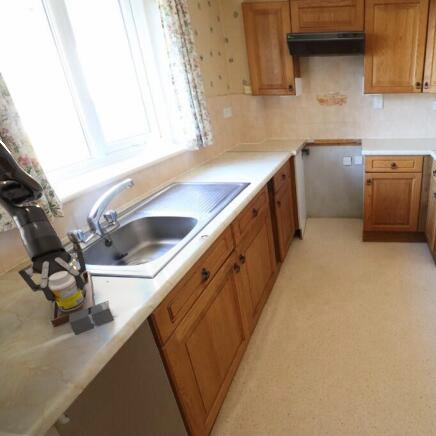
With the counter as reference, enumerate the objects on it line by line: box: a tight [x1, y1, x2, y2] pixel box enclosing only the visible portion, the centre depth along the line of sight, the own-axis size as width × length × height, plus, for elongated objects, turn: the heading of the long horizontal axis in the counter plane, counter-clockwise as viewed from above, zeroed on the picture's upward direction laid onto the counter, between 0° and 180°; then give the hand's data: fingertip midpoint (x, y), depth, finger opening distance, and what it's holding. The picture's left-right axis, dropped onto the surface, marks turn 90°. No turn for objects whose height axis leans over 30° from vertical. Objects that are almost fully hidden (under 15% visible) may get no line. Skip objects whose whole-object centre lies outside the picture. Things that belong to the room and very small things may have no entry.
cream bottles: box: [68, 258, 86, 296], centre depth 96 cm, size 6×12×10 cm, turn 36°
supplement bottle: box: [48, 271, 84, 311], centre depth 86 cm, size 6×6×10 cm
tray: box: [50, 270, 96, 328], centre depth 94 cm, size 9×22×3 cm, turn 36°
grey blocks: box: [68, 300, 115, 336], centre depth 85 cm, size 9×4×4 cm, turn 126°
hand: (67, 294), depth 85 cm, fingers closed on supplement bottle, 5 cm apart
